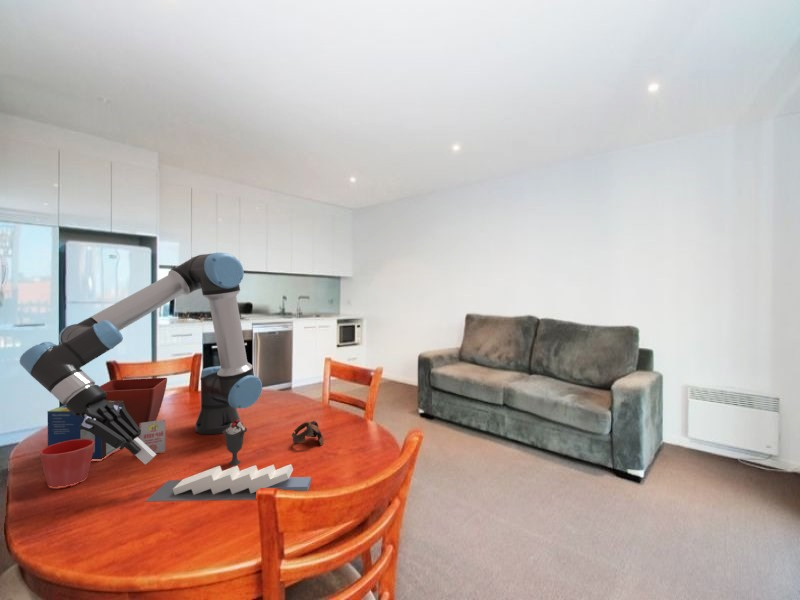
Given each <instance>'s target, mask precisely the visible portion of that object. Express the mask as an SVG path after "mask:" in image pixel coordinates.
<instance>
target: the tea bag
mask: <svg viewBox="0 0 800 600" xmlns="http://www.w3.org/2000/svg"><path fill="white" fill-rule="evenodd" d="M139 428H140V429H141V434H140V435H139V438H140V439H141V440H142V441H143V442H144V443H146V445H147V446H148V447H149V448H150V449H151V450H152V451H153V452H154V453H160V454H162V453H161V452H165V453H166V419H158V420H156V421H151V422H144V423H139Z"/></svg>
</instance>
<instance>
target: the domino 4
mask: <svg viewBox="0 0 800 600" xmlns="http://www.w3.org/2000/svg"><path fill="white" fill-rule="evenodd" d="M275 470H277V469H276V467H275V464H271V465H269V466H266V467H263V468H261V469H258V471H257V473H256V474H255V475H254V477H253V478H252V480H250V481H247V482H245V483H242V484H240V485H237V486H234V487H232V488H230V490H231V493H232V494H234V493H237V492H239V491H242V490H244V489H247V488H249V487H252V486H255V485H257V484H260V483H262V482H265V481H267V480H270V479H271V477H272V475H273V474H274V472H275Z"/></svg>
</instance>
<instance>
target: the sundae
mask: <svg viewBox="0 0 800 600" xmlns="http://www.w3.org/2000/svg"><path fill="white" fill-rule="evenodd" d="M235 417H236V416H235ZM235 417H234V418H235ZM243 425H244V424H243V422H242V421H241V420H240V421H238V420H237V419H235V421H234V419H233V422H232V423H231V424H230V426H229V427H228V428H227V429H225V430H224V431H223V432H222V433H221V434H223V435H224V437H225V445H226V450H227V451H228V452H229V453H231V454H232V458H231V461H230V462H229V463H228V465H229V466H237V465H239V464H241V460H238V452H240V450H242V449H243V444H244V436H245V433H247V431H248V428H247V427H245V425H244V426H243Z"/></svg>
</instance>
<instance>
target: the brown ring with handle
mask: <svg viewBox="0 0 800 600" xmlns="http://www.w3.org/2000/svg"><path fill="white" fill-rule="evenodd" d="M303 429H305V430H303ZM302 430H303V431H302ZM293 431H294V432H292V434H291V437H292V443H293V444H299V443H301V442H302V443H306V437H310V438H316V437H317V440H318V443H319V446H320V447H322V446H323V445H324V441H325V440H324V439H323V438H324V437H323V435H322V431H321V430H320V428H319V424H318V422H316V421H315V420H313V421H306V422H305V421H304V422H303V423H301V424H299V426H297V427H296V428H295V429H294V430H293ZM300 431H302V432H301V433H299V432H300ZM321 445H322V446H321Z"/></svg>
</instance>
